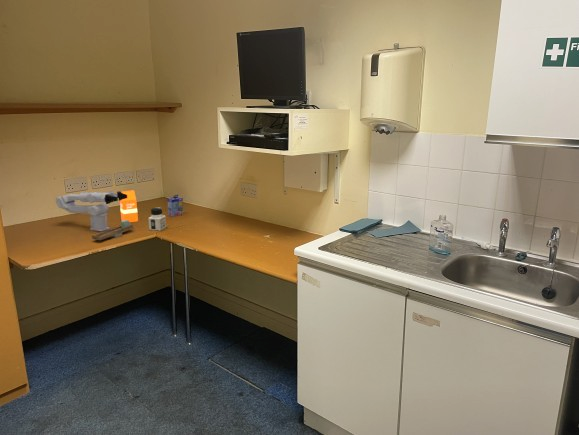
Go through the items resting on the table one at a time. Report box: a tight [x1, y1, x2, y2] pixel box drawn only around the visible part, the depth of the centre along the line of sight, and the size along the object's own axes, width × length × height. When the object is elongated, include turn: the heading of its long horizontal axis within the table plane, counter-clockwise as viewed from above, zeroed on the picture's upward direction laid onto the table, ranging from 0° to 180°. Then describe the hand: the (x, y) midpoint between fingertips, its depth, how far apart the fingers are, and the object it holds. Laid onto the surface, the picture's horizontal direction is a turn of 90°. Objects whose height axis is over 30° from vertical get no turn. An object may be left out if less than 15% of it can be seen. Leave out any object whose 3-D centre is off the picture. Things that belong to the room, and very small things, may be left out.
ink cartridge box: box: [166, 194, 184, 218], centre depth 307 cm, size 10×6×14 cm, turn 145°
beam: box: [91, 224, 135, 241], centre depth 261 cm, size 8×26×4 cm, turn 156°
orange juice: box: [119, 189, 139, 223], centre depth 292 cm, size 8×9×20 cm
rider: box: [120, 220, 131, 228], centre depth 269 cm, size 3×4×4 cm
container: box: [148, 207, 167, 231], centre depth 275 cm, size 8×8×13 cm
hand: (122, 197), depth 261 cm, fingers open, 7 cm apart
